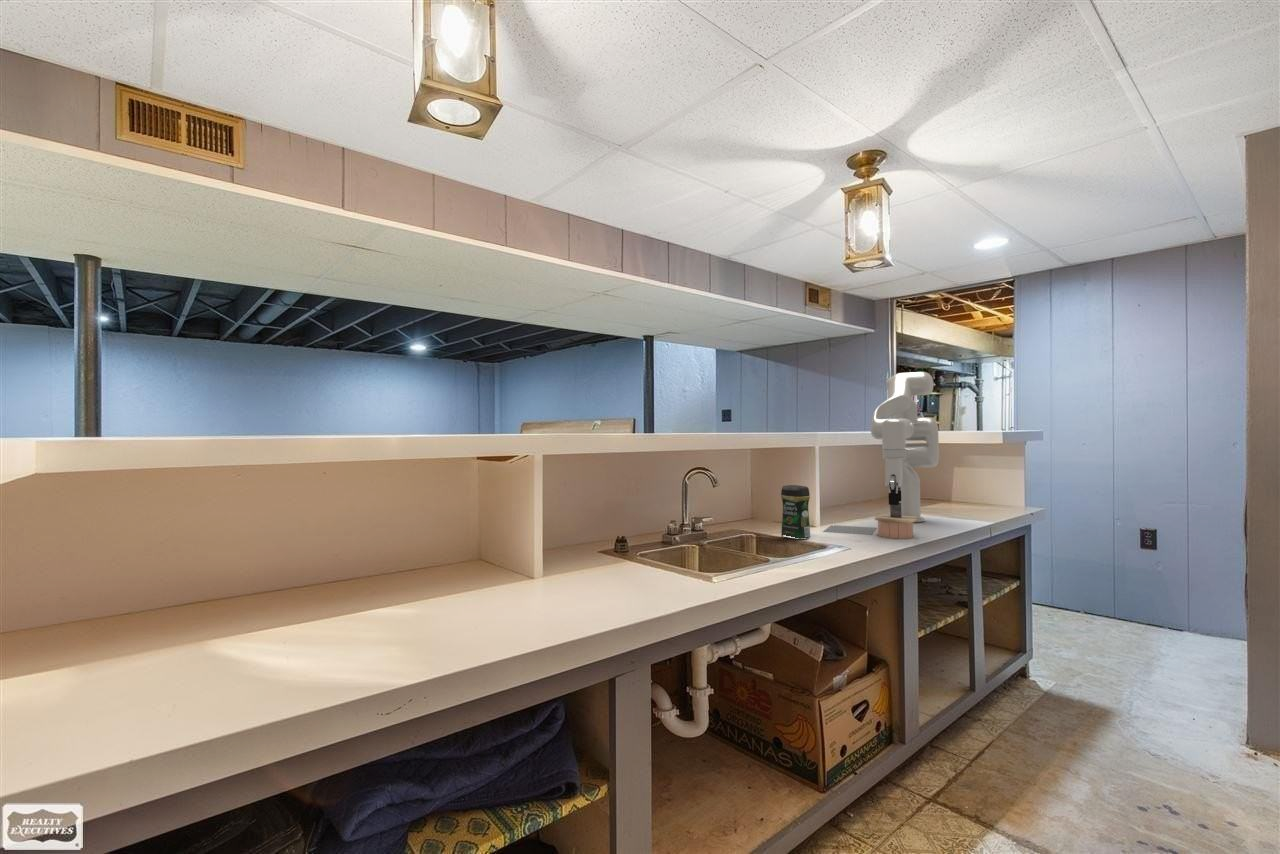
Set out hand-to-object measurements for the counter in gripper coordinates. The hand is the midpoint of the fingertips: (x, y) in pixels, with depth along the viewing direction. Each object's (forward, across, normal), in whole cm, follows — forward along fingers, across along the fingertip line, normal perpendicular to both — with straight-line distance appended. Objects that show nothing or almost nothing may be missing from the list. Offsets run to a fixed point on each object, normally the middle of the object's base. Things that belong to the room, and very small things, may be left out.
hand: (895, 502), depth 207 cm
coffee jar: (+12, +17, -31) cm, 37 cm away
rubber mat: (+12, -5, -16) cm, 21 cm away
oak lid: (+6, +1, 0) cm, 6 cm away
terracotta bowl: (+12, +1, 0) cm, 12 cm away
